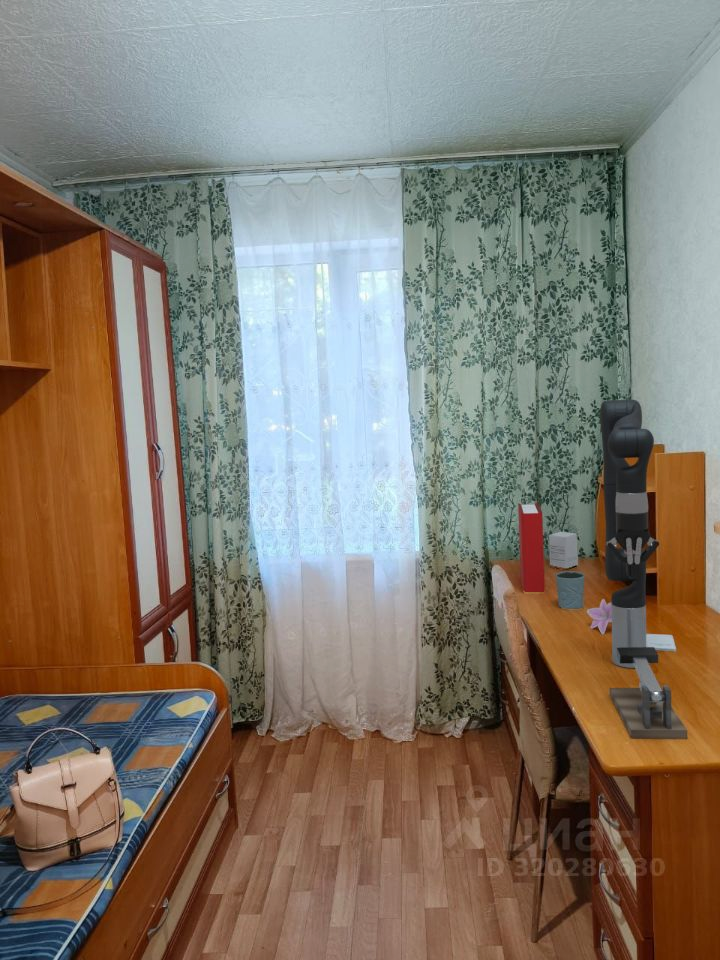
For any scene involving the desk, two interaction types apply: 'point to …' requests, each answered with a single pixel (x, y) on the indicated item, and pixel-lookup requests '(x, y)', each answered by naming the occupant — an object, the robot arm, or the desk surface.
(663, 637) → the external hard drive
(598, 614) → the lily
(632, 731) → the base
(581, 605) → the blue plant pot
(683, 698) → the desk surface
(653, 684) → the lever
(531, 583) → the book
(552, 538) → the supplement box
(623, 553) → the robot arm
